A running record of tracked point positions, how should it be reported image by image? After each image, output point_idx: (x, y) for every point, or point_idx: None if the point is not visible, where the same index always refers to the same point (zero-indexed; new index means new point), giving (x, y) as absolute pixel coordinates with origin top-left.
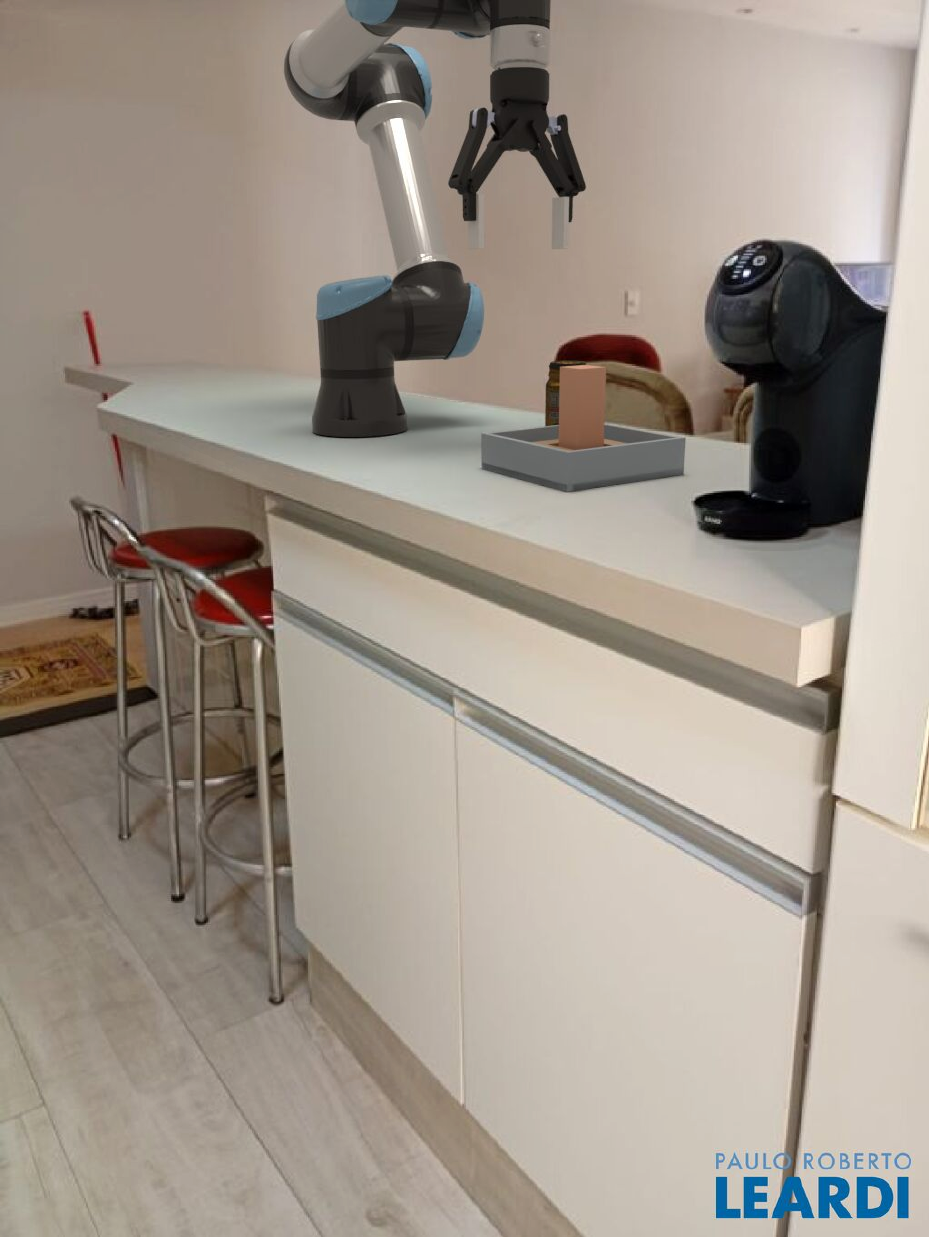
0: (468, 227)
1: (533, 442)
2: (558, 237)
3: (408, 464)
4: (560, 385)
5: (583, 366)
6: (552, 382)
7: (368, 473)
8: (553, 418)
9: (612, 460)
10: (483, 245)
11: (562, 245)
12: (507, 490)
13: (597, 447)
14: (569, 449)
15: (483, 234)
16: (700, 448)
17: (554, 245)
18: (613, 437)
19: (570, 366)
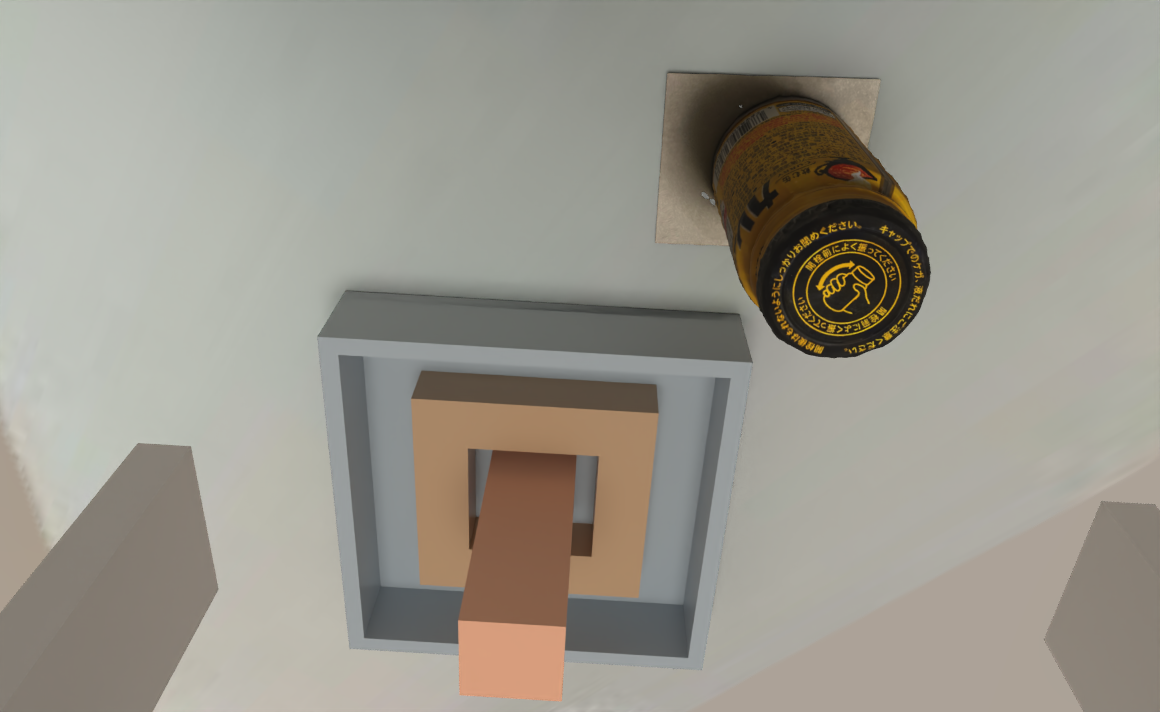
0: (38, 582)
1: (454, 407)
2: (1116, 655)
3: (181, 100)
4: (467, 581)
5: (525, 652)
6: (743, 255)
7: (23, 150)
8: (722, 218)
9: None
10: (203, 606)
11: (1062, 645)
12: (271, 511)
13: (445, 643)
14: (466, 528)
15: (167, 674)
16: (1043, 429)
17: (1101, 556)
18: (713, 451)
19: (492, 631)
